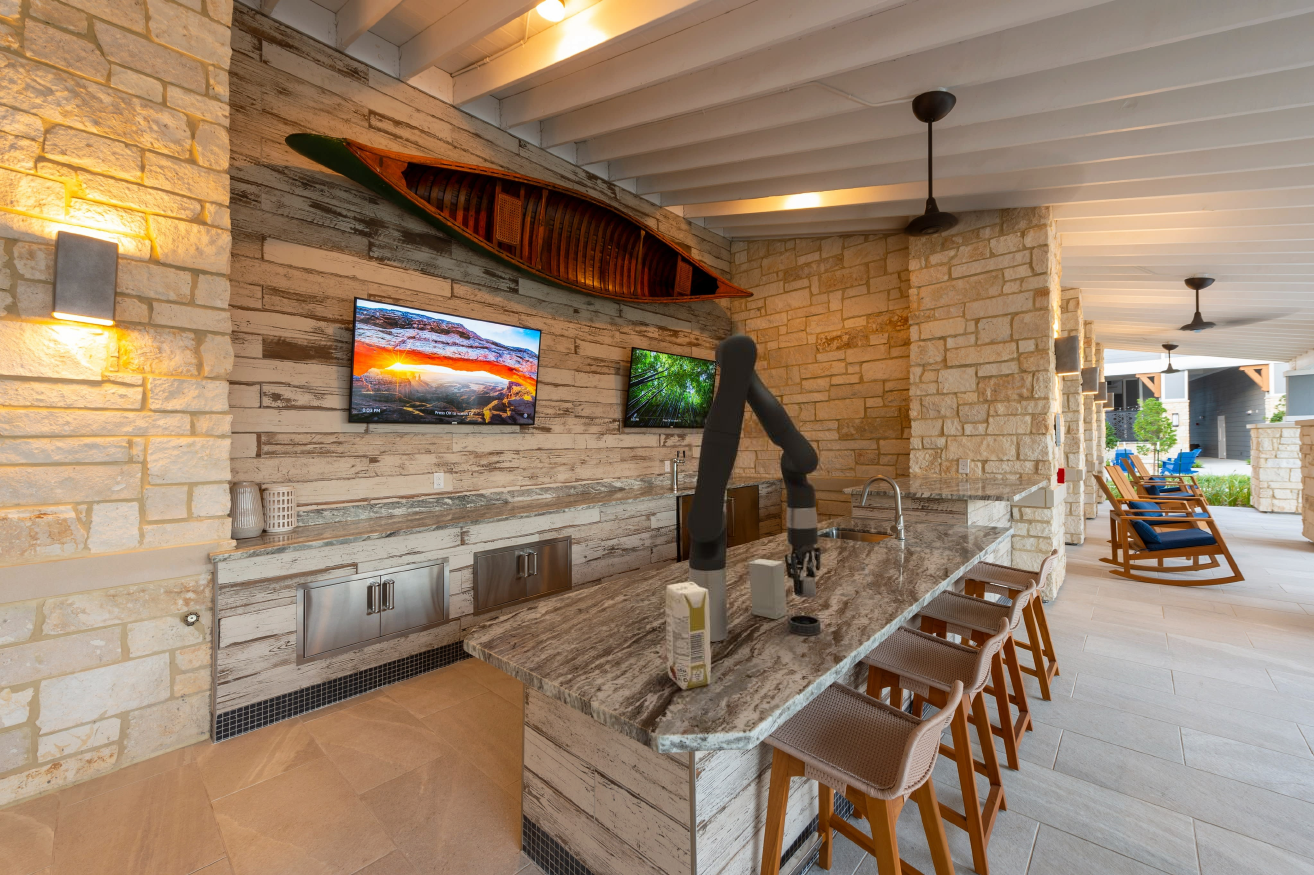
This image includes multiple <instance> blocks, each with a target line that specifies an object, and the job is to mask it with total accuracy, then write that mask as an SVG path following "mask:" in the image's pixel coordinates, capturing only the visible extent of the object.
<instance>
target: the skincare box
mask: <svg viewBox="0 0 1314 875" xmlns="http://www.w3.org/2000/svg"><path fill="white" fill-rule="evenodd" d="M748 570H749V574H748V575H749V585H750V586H749V587H750V598H751V600H750V601H751V614H752V615H756V616H760V617H765V618H769V619H773V620H778V619H780V618H783V617H786V616H787V615H788V609H787V596H786V594H787V593H786V582H785V567H784V561H782V560H772V559H771V560H770V559H764V558H758V559H755V560H752V561H749V562H748Z"/></svg>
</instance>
